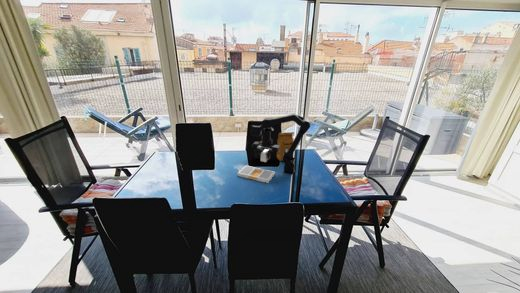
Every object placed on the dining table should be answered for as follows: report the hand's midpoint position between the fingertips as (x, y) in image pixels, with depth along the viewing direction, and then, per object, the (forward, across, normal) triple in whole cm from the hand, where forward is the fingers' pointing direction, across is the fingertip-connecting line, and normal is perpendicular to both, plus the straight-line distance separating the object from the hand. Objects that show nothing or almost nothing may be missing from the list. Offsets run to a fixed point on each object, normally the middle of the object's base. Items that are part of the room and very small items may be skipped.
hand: (265, 157), depth 152 cm
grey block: (+1, 0, 0) cm, 1 cm away
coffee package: (+9, -8, -20) cm, 24 cm away
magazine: (+9, +10, -14) cm, 20 cm away
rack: (+8, +2, +12) cm, 14 cm away
